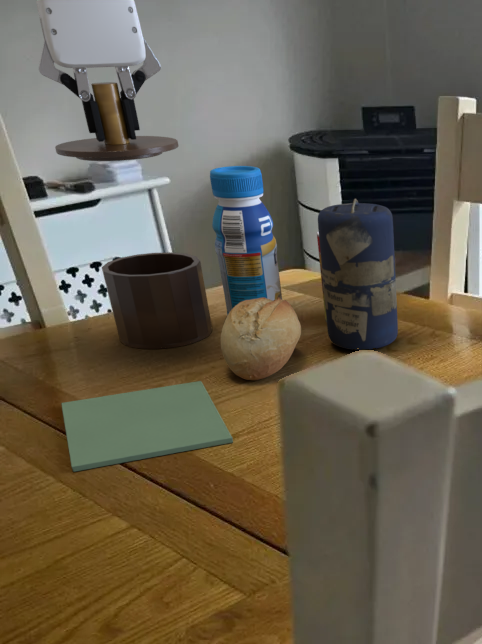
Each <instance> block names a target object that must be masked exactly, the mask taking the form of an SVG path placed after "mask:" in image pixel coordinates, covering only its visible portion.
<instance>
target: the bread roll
mask: <svg viewBox="0 0 482 644" xmlns="http://www.w3.org/2000/svg"><path fill="white" fill-rule="evenodd" d="M301 325H302V324H301V322H300V320H299V318H298V314H297V313H296V311H295V309H294V308H293V306H292V304H291V303H290V302H288V300H286V299H283V298H282V299H280V298H278V297H277V300H274V301H272V300H270V299H267V298H265V297H262V298H257V299H251V300H245V301H242V302H240V303H239V304H237V305H236V306H235V307H234V308H233V309H232V310H231V311H230V312H229V314H228V316H227V315H226V318H225V320H224V321H223V326H222V329H221V334H220V349H221V354H222V357H223V359H224V361H225V363H226V365H227V367H228V369H230V370H231V371H232V373H234V375H236V376H237V377H239V378H241V379H243V380H247V381H259V380H263V379H265V378H268V377H270V376H272V375H274V374H276V373H277V372H279V371H280V370H281V369H282V368H283V367H284V366H285V365H286V364H287V363H288V361H289V360H290V358H291V357H292V355H293V353H294V352H295V349H296V346H297V345H298V342H299V340H300V338H301V336H302V335H301V334H302V326H301Z"/></svg>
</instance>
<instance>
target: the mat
mask: <svg viewBox="0 0 482 644" xmlns="http://www.w3.org/2000/svg"><path fill="white" fill-rule="evenodd" d="M60 404H61V411H62V416H63V423H64V429H65V435H66V441H67V448H68V454H69V460H70V466H71V470H72V472H73V473H74V472H75V473H76V472H80V471H86V470H91V469H96V468H102V467H108V466H112V465H118V464H125V463H129V462H134V461H140V460H146V459H150V458H156V457H157V458H158V457H162V456H168V455H173V454H178V453H184V452H188V451H193V450H199V449H204V448H210V447H216V446H222V445H226V444H231V443H234V438H233V436H232V435H231V432H230V431H229V428H228V427H227V425H226V423H225V422H224V420H223V418H222V416H221V414H220V413H219V411H218V409H217V407H216V405H215V403H214V402H213V400H212V398H211V396H210V394H209V392H208V391H207V389H206V387H205V385H204V383H203V382H202V380H197V381H191V382H185V383H177V384H171V385H167V386H158V387H154V388H148V389H142V390H134V391H129V392H122V393H116V394H110V395H109V394H108V395H103V396H96V397H90V398H84V399H83V398H82V399H77V400H72V401H71V400H70V401H65V402H61V403H60Z"/></svg>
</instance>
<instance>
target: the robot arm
mask: <svg viewBox="0 0 482 644" xmlns="http://www.w3.org/2000/svg"><path fill="white" fill-rule="evenodd" d="M35 2H36V7H37V12H38V17H39V22H40V28H41V31H42V36H43V45H42V50H41V53H40V54H41V55H40V59H39V63H38V64H39V65H38V72H39V74H41V75H42V76H43V77H46V78H48V79H50V80H51V81H54V82H56V83H58V84H61V85H63V86H64V87H66V88H67V89H68V90H69V91H70V92H72V93H73V94H74V95H75V96H76V97H78V98H79V99H80V100H81V104H82V107H83V112H84V117H85V121H86V125H87V129H88V132H89V134H94V135H95V138H97V140H98V141H99V142H103V141H104V140H105V136H104V132H103V127H102V123H101V119H100V114H99V110H98V105H97V102H95V98H94V94H93V93H91V90H90V84H89V77H88V70H87V69H88V68H89V69H90V68H95V69H96V68H114V69H115V73H116V76H117V81H118V83H119V86H120V90H121V91H119V94H120V98H121V104H122V109H123V113H124V118H125V123H126V128H127V132H128V137H129V138H130V139H131V140H134V139H136V136H137V135H136V131H140V130H141V129H140V123H139V118H138V113H137V108H136V104H135V98H136V97H137V94H138V93H139V91H140V89H141V88H142V86H143V85H144V84H145V82H146V81H147V80H149V79H150V78H151V77H153V76H154V75H156V74H157V73H159V72H160V71H161V70H162V69H161V68H162V65H161V63H160V62H159V60H158V58H157V57H156V56H155V54H154V52H153V51H152V49H151V48H150V46H149V45H148V43H147V41H146V40H145V38H144V37H143V36H144V35H143V31H142V27H141V21H140V18H139V14H138V10H137V6H136V2H135V0H35ZM142 63H143V64H142ZM55 64H56V65H58V66H60V67H64V68H67V69H72V72H73V77H72V76H71V75H70V74H69V73H67V72H65V71H63V70H60V69H58V68H57V67H56V66H55ZM141 64H142V65H141ZM138 65H141V66H139V68H137V69H135V70H134V71H133V72H132V73H131V70H130V67H135V66H138Z"/></svg>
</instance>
